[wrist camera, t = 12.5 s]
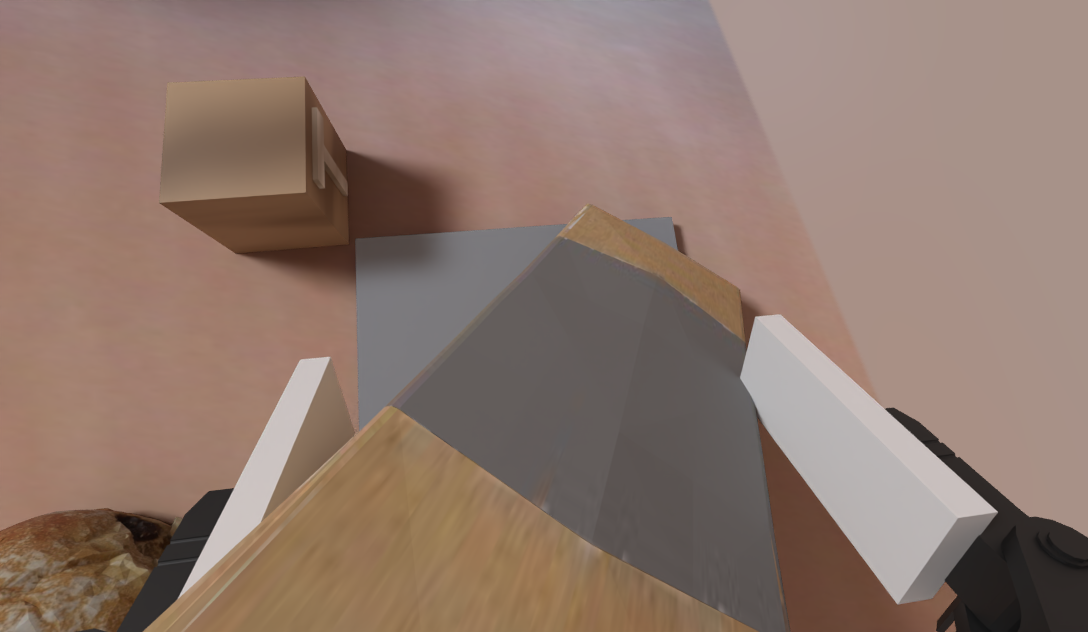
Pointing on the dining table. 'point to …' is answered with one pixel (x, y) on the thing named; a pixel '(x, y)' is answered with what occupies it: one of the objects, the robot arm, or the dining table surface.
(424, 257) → the grey rubber mat
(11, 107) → the dining table surface
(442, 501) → the sandwich container
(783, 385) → the robot arm
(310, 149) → the wooden letter cube
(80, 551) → the bread roll
